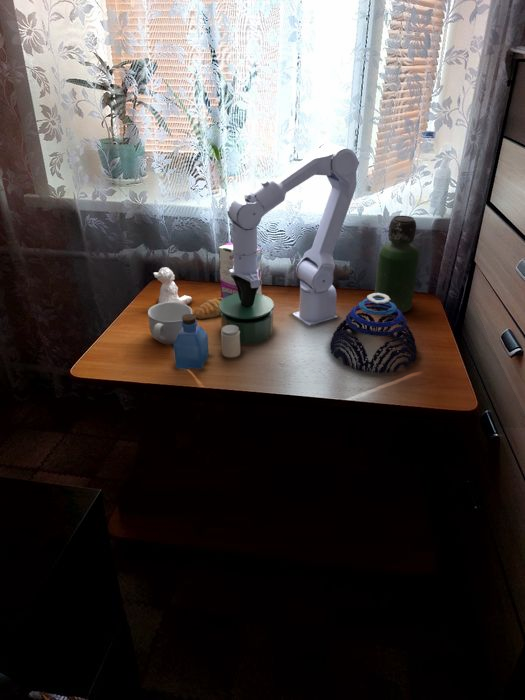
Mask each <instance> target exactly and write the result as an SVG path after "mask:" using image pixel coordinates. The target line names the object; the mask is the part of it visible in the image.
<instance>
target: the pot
mask: <svg viewBox="0 0 525 700" xmlns="http://www.w3.org/2000/svg"><path fill="white" fill-rule="evenodd" d="M243 321H249V322H243ZM220 323H221V324H220V325H221V329H222V328H223V327H224V326H226V325H235V326H237V327H238V328H239V331H240V344H255V343H260V342H262V341H265V340H267V339H268V338H270V337H271V336H272V334H273V332H274V309H273V310H272V311H271V312H270V313H269V314H267V315H265V316H262V317H259V318H254V319H237V318H232V317H229V316H226V315H224V314H223V313H222V312H221V315H220Z"/></svg>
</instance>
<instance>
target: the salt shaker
mask: <svg viewBox="0 0 525 700" xmlns="http://www.w3.org/2000/svg"><path fill="white" fill-rule="evenodd" d="M220 338H221V340H220V341H221V342H220V343H221V354H222V356H224V357H226V358H235V357H238V356H240V355H241V343H240V331H239V328H238V327H237V326H235V325H226V326H224V327H223V328H222V327H221V331H220Z"/></svg>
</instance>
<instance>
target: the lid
mask: <svg viewBox="0 0 525 700" xmlns="http://www.w3.org/2000/svg"><path fill="white" fill-rule="evenodd" d="M274 309H275V302H274V301H273V300H272V299H271V298H270V297H269V296H266V295H264V294H262V295H261V294H256V296H255V300H254V304H253V306H250V307H245V306H244V303H243V298H242V293H241V301H240V298H239V295H238V294H234V295H230V296H228V297H226V298H224V299H223V300H221V302H220V303H219V310H220V311H221V312H222V313H223V314H224V315H226V316H229V317H232V318H237V319H254V318H259V317H262V316H265V315H267V314H269V313H270V312H271V311H272V310H273V311H274Z"/></svg>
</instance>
